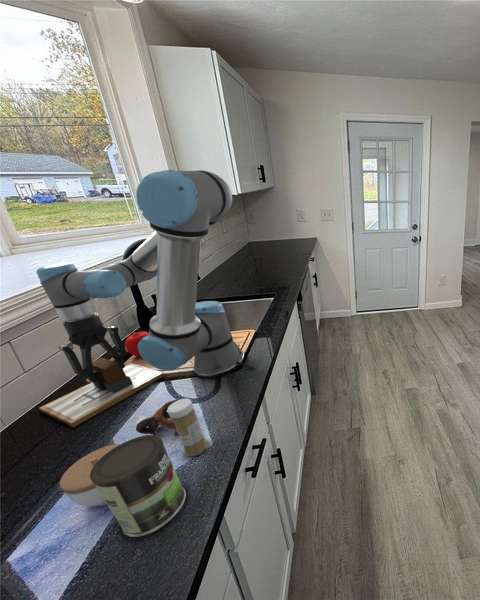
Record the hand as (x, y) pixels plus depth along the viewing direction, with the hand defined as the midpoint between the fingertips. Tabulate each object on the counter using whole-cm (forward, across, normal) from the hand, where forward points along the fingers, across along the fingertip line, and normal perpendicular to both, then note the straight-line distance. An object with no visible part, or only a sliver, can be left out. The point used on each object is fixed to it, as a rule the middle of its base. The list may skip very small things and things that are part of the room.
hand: (113, 383), depth 98 cm
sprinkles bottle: (+2, +8, +49) cm, 49 cm away
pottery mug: (+2, +6, +36) cm, 36 cm away
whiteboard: (+2, +2, 0) cm, 3 cm away
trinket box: (+2, +22, +42) cm, 47 cm away
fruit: (+2, -17, -14) cm, 22 cm away
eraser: (0, 0, 0) cm, 0 cm away
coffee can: (+2, +21, +55) cm, 58 cm away
